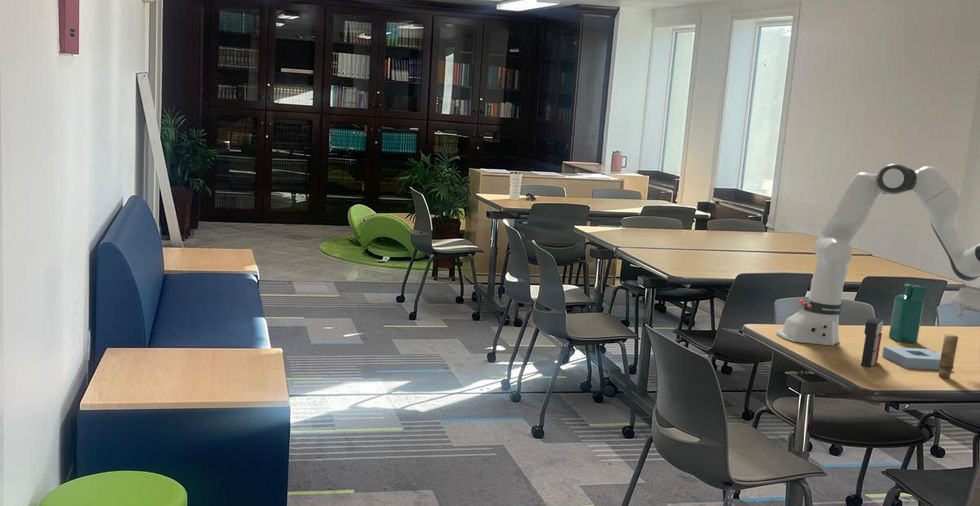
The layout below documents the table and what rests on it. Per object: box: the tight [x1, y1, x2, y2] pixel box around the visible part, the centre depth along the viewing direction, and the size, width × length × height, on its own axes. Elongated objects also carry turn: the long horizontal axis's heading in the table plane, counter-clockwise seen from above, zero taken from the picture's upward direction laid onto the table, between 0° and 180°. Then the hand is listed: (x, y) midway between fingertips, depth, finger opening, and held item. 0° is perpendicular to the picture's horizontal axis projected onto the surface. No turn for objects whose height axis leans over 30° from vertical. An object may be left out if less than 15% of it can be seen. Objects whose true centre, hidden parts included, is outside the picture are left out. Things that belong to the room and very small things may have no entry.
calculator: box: [860, 316, 884, 368], centre depth 312 cm, size 11×4×15 cm, turn 148°
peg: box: [938, 334, 959, 380], centre depth 303 cm, size 4×4×14 cm
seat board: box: [881, 346, 941, 371], centre depth 320 cm, size 17×14×4 cm
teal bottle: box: [888, 283, 927, 344], centre depth 353 cm, size 10×8×22 cm
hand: (973, 321), depth 309 cm, fingers open, 8 cm apart
